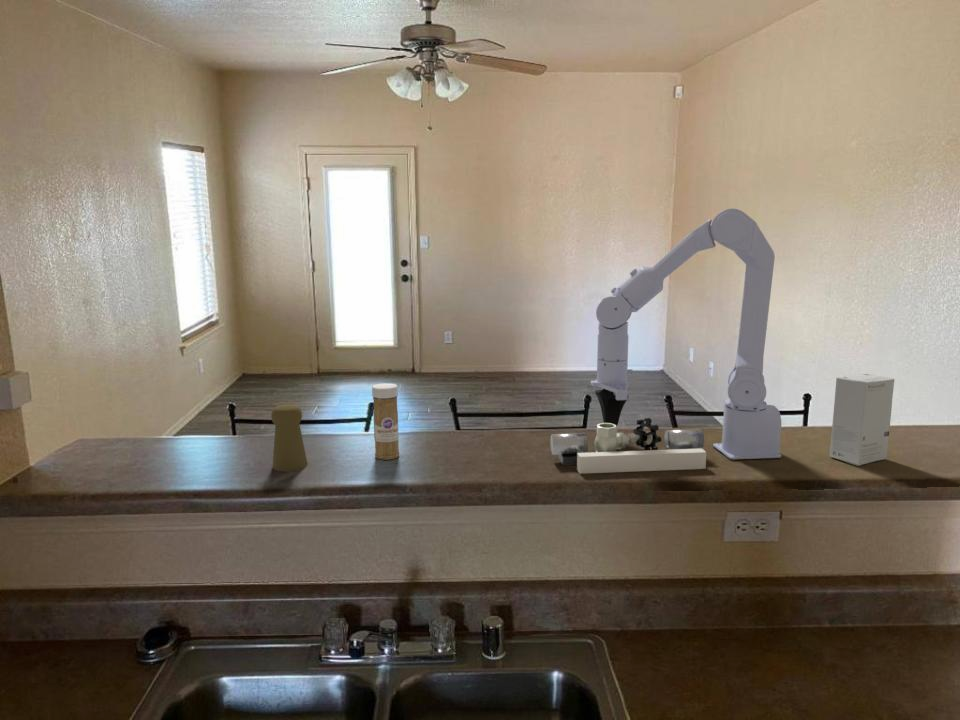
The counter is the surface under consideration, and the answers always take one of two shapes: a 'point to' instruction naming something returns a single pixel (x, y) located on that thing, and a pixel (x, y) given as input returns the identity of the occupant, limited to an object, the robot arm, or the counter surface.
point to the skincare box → (861, 418)
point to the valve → (625, 437)
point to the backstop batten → (641, 460)
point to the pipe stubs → (578, 443)
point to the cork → (288, 439)
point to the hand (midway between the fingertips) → (610, 427)
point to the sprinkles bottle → (385, 421)
